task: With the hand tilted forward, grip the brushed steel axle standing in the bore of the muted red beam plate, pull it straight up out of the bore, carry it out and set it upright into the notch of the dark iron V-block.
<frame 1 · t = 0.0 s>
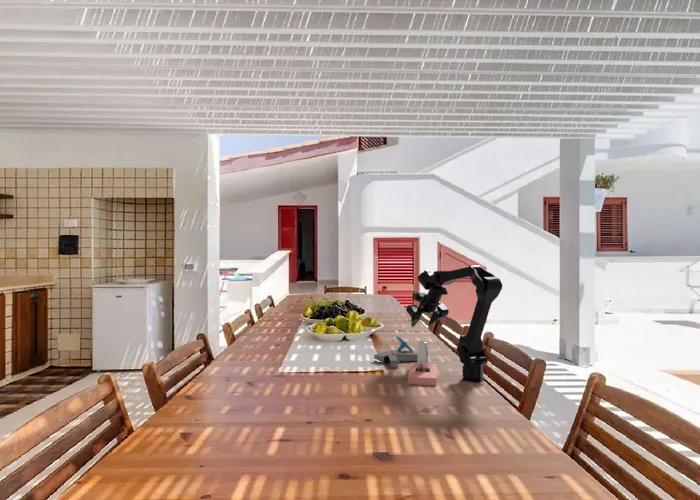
hand: (420, 325, 191), 15 cm above the table, tool tilted 35°, fingers open, 9 cm apart
beam plate: (422, 376, 167), on the table
axle: (422, 359, 167), in the beam plate
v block: (401, 363, 186), on the table
gear: (404, 352, 207), on the table
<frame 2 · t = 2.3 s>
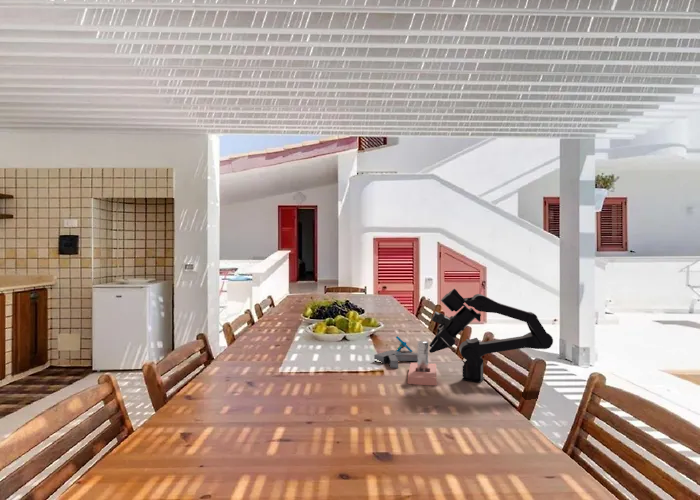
hand: (430, 349, 167), 10 cm above the table, tool tilted 45°, fingers open, 9 cm apart
nothing on the table moved.
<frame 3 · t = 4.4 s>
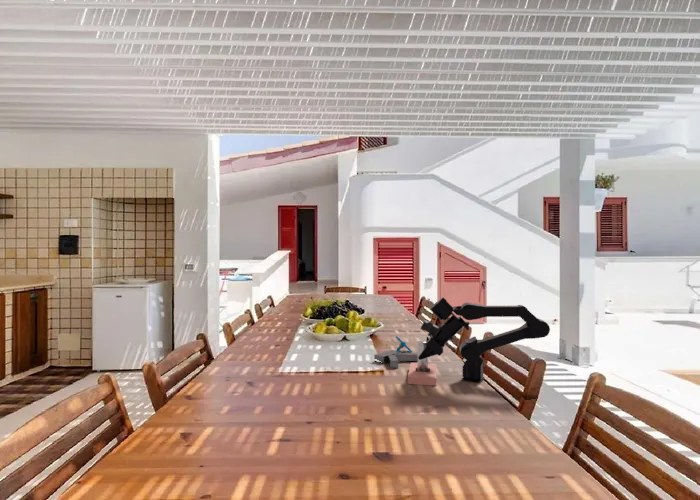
hand: (419, 357, 168), 7 cm above the table, tool tilted 45°, fingers closed on axle, 4 cm apart
axle: (422, 359, 167), in the beam plate, touching gripper
everything else where it was.
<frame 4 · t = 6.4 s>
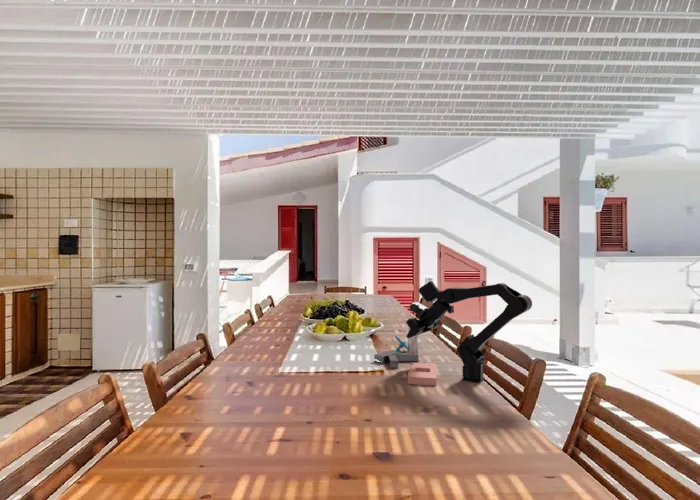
hand: (409, 336, 180), 13 cm above the table, tool tilted 45°, fingers closed on axle, 4 cm apart
axle: (412, 338, 179), point 12 cm above the table, touching gripper
everything else where it was.
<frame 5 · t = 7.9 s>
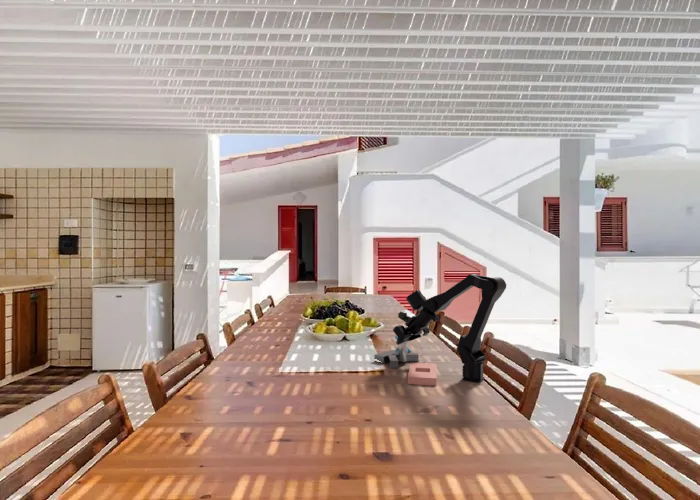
hand: (400, 343, 187), 8 cm above the table, tool tilted 45°, fingers closed on axle, 4 cm apart
axle: (402, 344, 186), point 8 cm above the table, touching gripper
everything else where it was.
when the fingers open (8 cm above the table, at t = 8.7 s): axle stays where it is, resting in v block.
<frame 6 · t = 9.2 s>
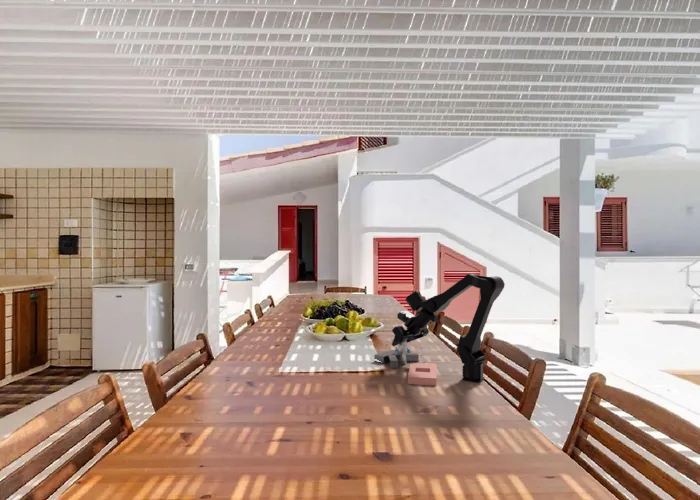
hand: (399, 343, 187), 8 cm above the table, tool tilted 45°, fingers open, 9 cm apart
axle: (402, 347, 186), resting in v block
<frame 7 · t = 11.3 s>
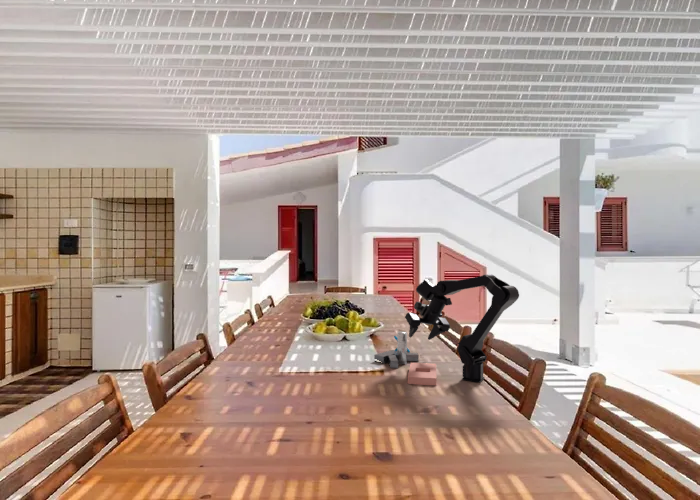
hand: (419, 338, 183), 11 cm above the table, tool tilted 30°, fingers open, 9 cm apart
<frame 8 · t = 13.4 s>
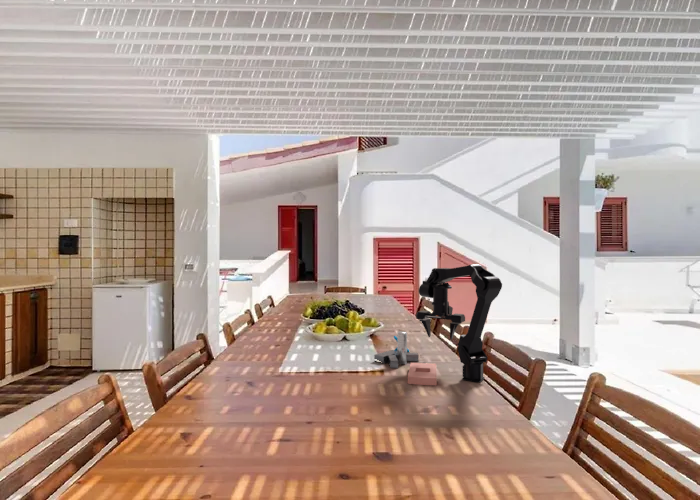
hand: (440, 338, 179), 12 cm above the table, tool pointing down, fingers open, 9 cm apart
at the end: axle 0.1 cm off-centre on the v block, point 6.5 cm above the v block's base; axle tilted 0°; the gripper is holding nothing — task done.
